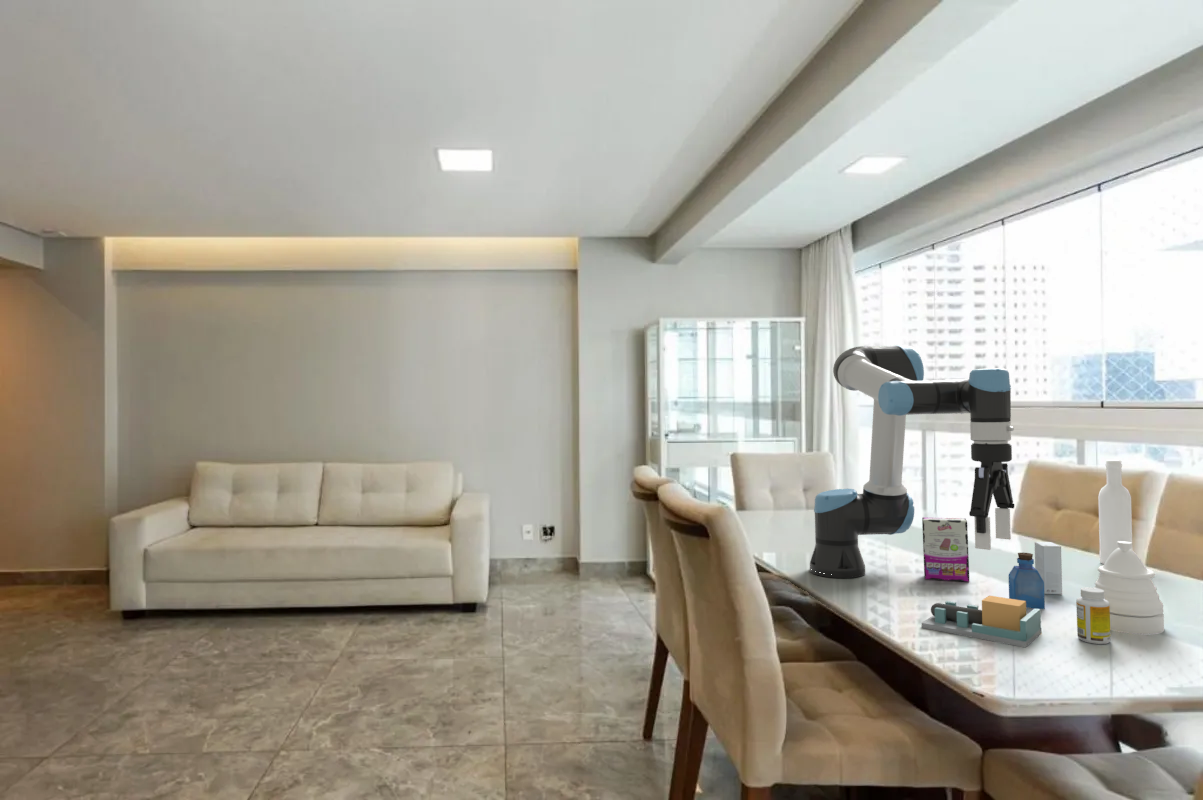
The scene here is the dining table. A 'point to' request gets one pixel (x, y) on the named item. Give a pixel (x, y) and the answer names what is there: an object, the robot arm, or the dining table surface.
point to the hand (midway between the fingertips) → (993, 543)
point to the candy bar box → (945, 549)
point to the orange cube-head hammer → (990, 612)
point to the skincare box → (1049, 566)
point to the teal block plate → (986, 627)
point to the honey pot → (1130, 593)
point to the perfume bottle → (1026, 583)
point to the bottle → (1114, 511)
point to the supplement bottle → (1093, 616)
